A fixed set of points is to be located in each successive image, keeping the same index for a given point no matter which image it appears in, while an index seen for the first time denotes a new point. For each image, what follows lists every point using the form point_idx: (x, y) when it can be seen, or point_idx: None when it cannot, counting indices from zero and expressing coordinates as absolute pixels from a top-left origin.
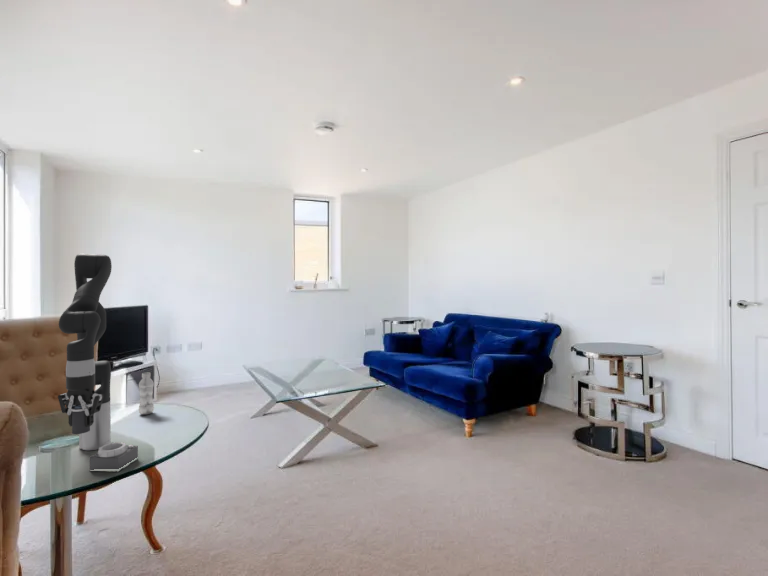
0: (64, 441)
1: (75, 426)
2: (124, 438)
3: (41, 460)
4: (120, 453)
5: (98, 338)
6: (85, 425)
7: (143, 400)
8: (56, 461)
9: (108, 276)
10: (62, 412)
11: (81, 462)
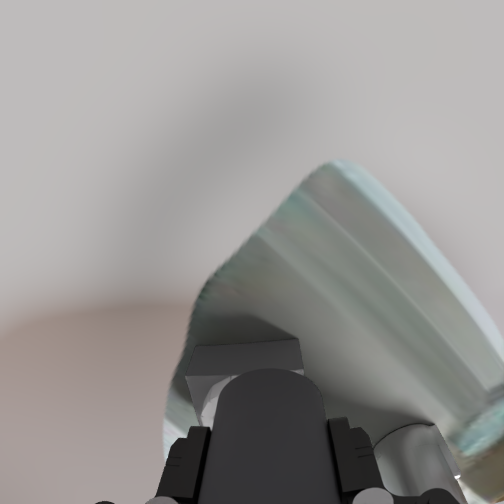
0: (486, 430)
1: (261, 409)
2: None
3: (486, 355)
4: (204, 401)
5: None
6: (202, 432)
7: None
8: (450, 363)
9: None
10: (442, 489)
11: (377, 378)
